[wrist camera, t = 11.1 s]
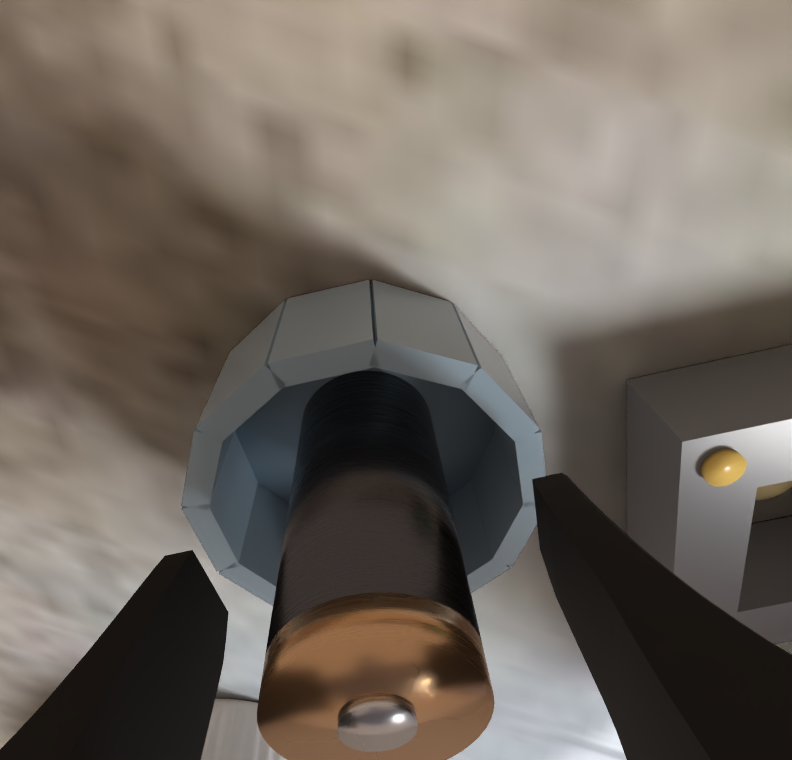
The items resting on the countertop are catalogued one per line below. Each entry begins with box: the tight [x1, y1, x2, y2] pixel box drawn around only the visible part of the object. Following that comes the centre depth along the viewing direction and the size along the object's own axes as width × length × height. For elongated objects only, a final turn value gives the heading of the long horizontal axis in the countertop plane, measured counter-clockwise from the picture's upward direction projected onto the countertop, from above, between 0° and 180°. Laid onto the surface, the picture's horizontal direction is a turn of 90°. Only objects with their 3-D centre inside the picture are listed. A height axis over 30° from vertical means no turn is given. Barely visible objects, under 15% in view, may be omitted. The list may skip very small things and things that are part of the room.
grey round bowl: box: [181, 280, 546, 606], centre depth 14 cm, size 8×8×4 cm
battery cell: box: [257, 370, 494, 760], centre depth 12 cm, size 4×4×8 cm
